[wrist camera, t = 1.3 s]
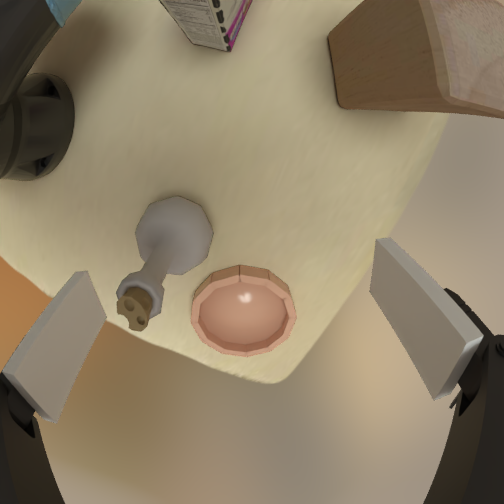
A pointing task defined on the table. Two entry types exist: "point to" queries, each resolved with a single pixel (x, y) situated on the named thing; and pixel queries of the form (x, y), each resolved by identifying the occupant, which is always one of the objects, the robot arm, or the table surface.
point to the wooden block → (421, 56)
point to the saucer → (243, 311)
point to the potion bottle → (163, 255)
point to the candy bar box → (209, 20)
